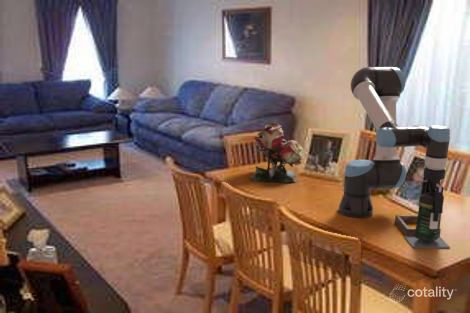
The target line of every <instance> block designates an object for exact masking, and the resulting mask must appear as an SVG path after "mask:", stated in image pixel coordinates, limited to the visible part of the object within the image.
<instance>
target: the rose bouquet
mask: <svg viewBox="0 0 470 313" xmlns="http://www.w3.org/2000/svg"><path fill="white" fill-rule="evenodd" d="M282 127H283V126H282V125H280V124H279V123H278V122H272V123H269V124H266V125H265V127H264V128H263V127H260V130H262V131H260V132H258V133H257V136H253V140H255V142H254V144H255V145H256V146H257V147H259V148H260V149H256V150H254V153H257V152H263V154H264V155H265V157H266V158H267V167H266V168H264V167H259V166H255V172H254V174H253V175H252V176H250V178H251V182H253V183H266V184H267V183H268V184H271V183H273V184H274V183H283V184H284V183H286V184H287V183H293V182H294V183H297V181H301V180H298V179H296V178H297V174H296V172H295V171H294V170H293V169H286V164H287V165H288V166H290V167H291V168H294V169H296V167H295V166H298V165H302V163H303V162H302V161H303V160H304V159H303V157H304V156H305V152H306V151H305V149H304V148H303V147H302V146H301V143H299V142H298V141H297V140H293V139H290V140H286V139H285V135H284V130H283V128H282ZM278 163H279V165H278ZM270 166H272V167H270Z"/></svg>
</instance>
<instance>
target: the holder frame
mask: <svg viewBox="0 0 470 313" xmlns="http://www.w3.org/2000/svg"><path fill="white" fill-rule="evenodd" d="M417 218H418V214H414V215H413V214H395V216H394V222H395V224H396V226H398V228H399V229H400V231H402V232H403V234H404V236H415V230H416V227H410V226H408V225H407V224H408V223H409V224H417ZM439 236H440V237H441V228H440V232H439Z"/></svg>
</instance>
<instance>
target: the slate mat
mask: <svg viewBox="0 0 470 313" xmlns="http://www.w3.org/2000/svg"><path fill="white" fill-rule="evenodd" d="M403 238H404V239H405V240H406V241H407V243H408V244H409V245H410V247H411V248H412V249H450V248H451V246H450V245H449V244H448V243H446V241H445V240H444V239H443V238H442V237H441V235H440V236H439V237H438V239H437V240H435V241H433V242H424V241H421V240H419V239H417V238H415V236H406V235H404V237H403Z"/></svg>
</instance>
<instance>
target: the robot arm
mask: <svg viewBox="0 0 470 313" xmlns="http://www.w3.org/2000/svg"><path fill="white" fill-rule="evenodd" d="M405 86H406V78H405V74H404V72H403V71H402V70H401V69H400V68H398V67H393V66H381V67H380V66H376V67H375V66H373V67H372V66H367V67H363V68H360V69H359V70H357V71H356V72H355V74H353V76H352V78H351V80H350V90H351V93H352V95H353V97H354V98H355V99H357V100H358V101H359V103H360V104H361V106H362V107H363V109H364V111H365V112H366V114H367V116H368V118H369V120H370V121H371V123H372V124H373V126H374V127H375V130H376V131H375V132H376V133H375V140H376V155H375V157H374V158H372V159H373V161H372V160H370V159H355V160H351V161H349V162H347V163H346V164H345V168H344V169H345V170H344V181H343V182H344V183H343V195H342V198H341V200H340V202H339V204H338V212H339V214H341V215H344V216H346V217H351V218H360V219H361V218H368V217H371V216H373V214H374V206H373V202H372V199H371V198H372V197H371V190H383V189H384V190H387V189H388V190H393V189H398V188H401V187H402V185H403V184H404V183H405V181H406V178H407V176H406V175H407V170H406V166H405V164H404V163H403V162H401V157H399V156H398V151H397V149H398V148H401V147H422V148H424V149H425V157H424V167H423V179H422V180H423V181H422V186H421V190H420V191H421V192H420V195H422V194H423V193H427V192H430V195H432V197H434V198H435V202H434V201H433V208H432V211H431V218H430V227H429V228H430V229H437V228H438V219H439V213H441V214H443V213H444V212H443V206H444V202H443V196H444V189H445V188H444V186H441V181H442V180H444V179H446V178H445V177H446V171H447V170H446V168H447V162H448V160H449V159H448V153H449V146H450V140H451V136H450V134H451V129H450V127H448V126H446V125H444V126H443V125H437V124H435V125H430V126H429V127H428V126H425V125H422V124H421V125H420V124H414V125H412V126H406V127H405V126H403V127H402V126H401V127H400V126H398V124H397V100H399V99H400V97H401V96H400V94H402V93H403V92H404V91H405ZM434 192H435V193H434Z"/></svg>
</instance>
